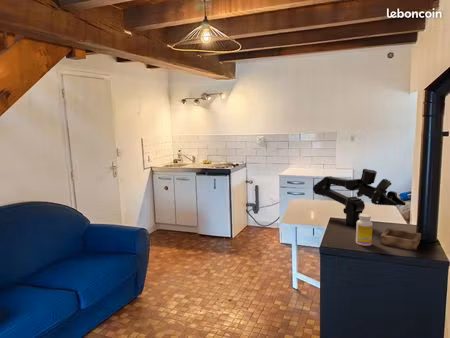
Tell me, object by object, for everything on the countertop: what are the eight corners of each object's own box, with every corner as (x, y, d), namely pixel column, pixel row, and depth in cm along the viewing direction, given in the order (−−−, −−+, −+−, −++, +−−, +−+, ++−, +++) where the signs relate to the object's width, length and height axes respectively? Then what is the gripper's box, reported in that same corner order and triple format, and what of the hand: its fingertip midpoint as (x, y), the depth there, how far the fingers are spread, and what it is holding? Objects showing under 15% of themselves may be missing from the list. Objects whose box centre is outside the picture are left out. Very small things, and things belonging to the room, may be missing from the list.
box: (380, 243, 155) (380, 235, 155) (387, 236, 166) (387, 228, 166) (415, 250, 147) (416, 241, 146) (420, 241, 158) (421, 233, 158)
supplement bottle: (374, 246, 152) (375, 217, 150) (358, 246, 152) (360, 217, 151) (368, 241, 159) (369, 213, 157) (353, 241, 159) (354, 213, 157)
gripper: (367, 176, 167) (398, 188, 155) (385, 177, 179) (415, 188, 168) (359, 197, 169) (389, 211, 158) (377, 197, 181) (407, 210, 170)
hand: (401, 204), depth 163 cm, fingers open, 9 cm apart
